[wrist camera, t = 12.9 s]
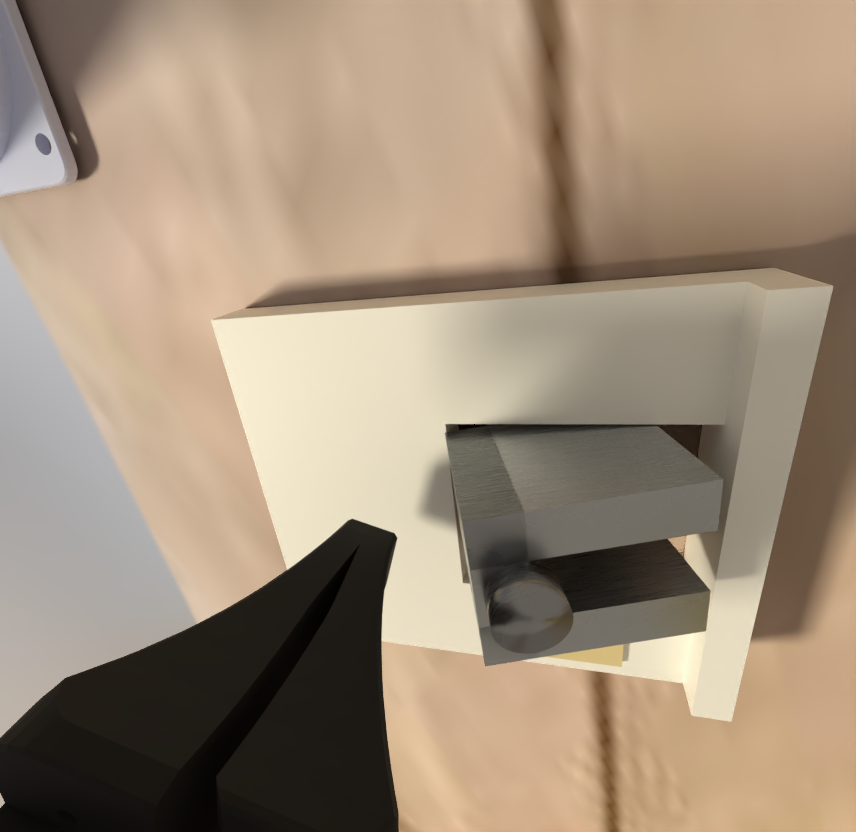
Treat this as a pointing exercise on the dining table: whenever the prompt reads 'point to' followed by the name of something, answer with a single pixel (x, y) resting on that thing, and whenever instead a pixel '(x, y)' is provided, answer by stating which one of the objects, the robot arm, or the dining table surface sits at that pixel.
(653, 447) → the clip
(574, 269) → the dining table surface
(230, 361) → the frame
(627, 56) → the dining table surface
